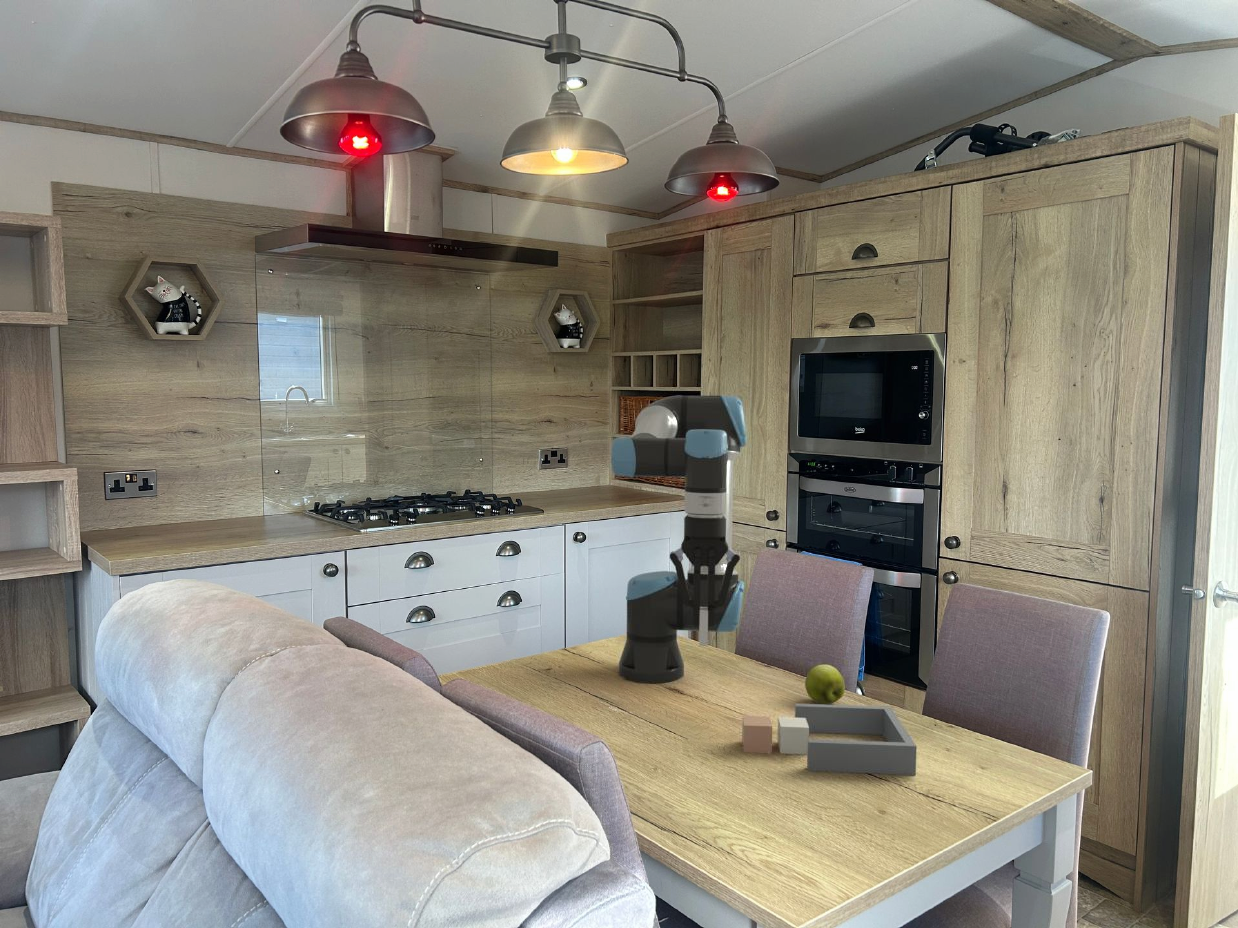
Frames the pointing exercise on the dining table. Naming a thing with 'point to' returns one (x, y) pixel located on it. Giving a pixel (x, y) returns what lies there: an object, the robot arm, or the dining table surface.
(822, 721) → the box
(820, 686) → the apple
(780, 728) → the tile
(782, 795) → the dining table surface
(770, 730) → the tile
